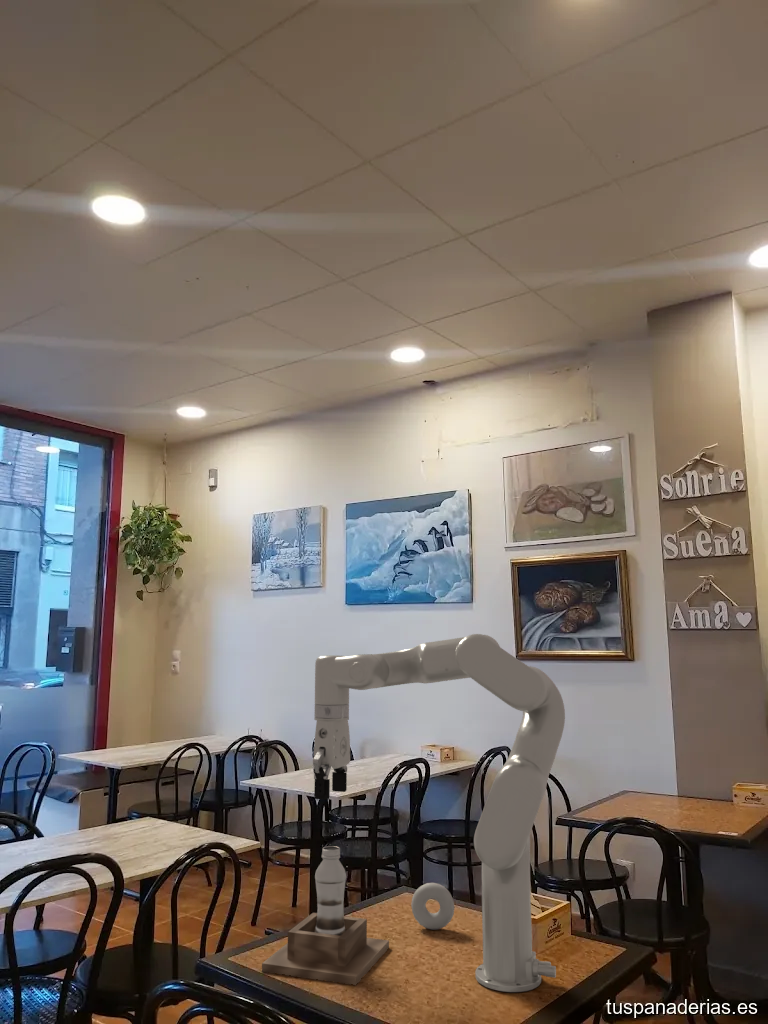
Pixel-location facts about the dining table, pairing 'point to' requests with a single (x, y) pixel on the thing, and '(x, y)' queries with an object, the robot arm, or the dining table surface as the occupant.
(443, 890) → the donut
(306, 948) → the bottle stand
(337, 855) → the plastic bottle
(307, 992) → the dining table surface
